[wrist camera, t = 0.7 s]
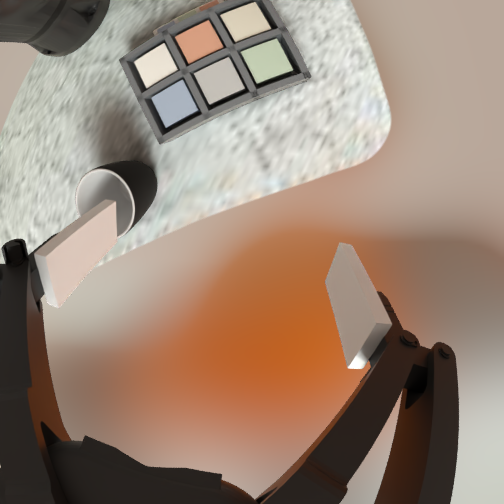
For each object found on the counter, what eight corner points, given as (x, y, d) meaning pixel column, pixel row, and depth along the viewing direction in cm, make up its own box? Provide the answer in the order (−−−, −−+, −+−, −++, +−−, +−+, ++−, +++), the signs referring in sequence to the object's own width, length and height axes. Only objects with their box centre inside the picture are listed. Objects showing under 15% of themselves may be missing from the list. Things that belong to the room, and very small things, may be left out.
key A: (157, 98, 29) (151, 97, 28) (187, 81, 28) (182, 79, 27) (171, 126, 31) (165, 127, 30) (201, 110, 30) (198, 110, 28)
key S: (222, 20, 24) (220, 15, 22) (255, 7, 23) (255, 1, 21) (237, 46, 26) (235, 42, 24) (271, 33, 25) (271, 28, 23)
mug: (141, 141, 34) (104, 152, 25) (177, 189, 37) (149, 214, 28) (92, 189, 38) (54, 212, 29) (124, 232, 41) (92, 263, 32)
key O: (140, 64, 27) (133, 61, 25) (169, 46, 26) (164, 42, 24) (152, 89, 29) (146, 88, 27) (182, 72, 28) (177, 69, 26)
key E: (242, 55, 27) (240, 51, 25) (276, 42, 26) (276, 38, 24) (257, 85, 28) (256, 83, 27) (291, 72, 27) (293, 69, 26)
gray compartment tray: (127, 49, 27) (111, 44, 23) (253, -13, 23) (251, -27, 19) (171, 141, 34) (159, 144, 30) (306, 81, 29) (311, 76, 26)
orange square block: (179, 40, 26) (174, 37, 24) (211, 25, 25) (208, 20, 23) (193, 66, 27) (188, 63, 26) (226, 50, 26) (223, 47, 25)
